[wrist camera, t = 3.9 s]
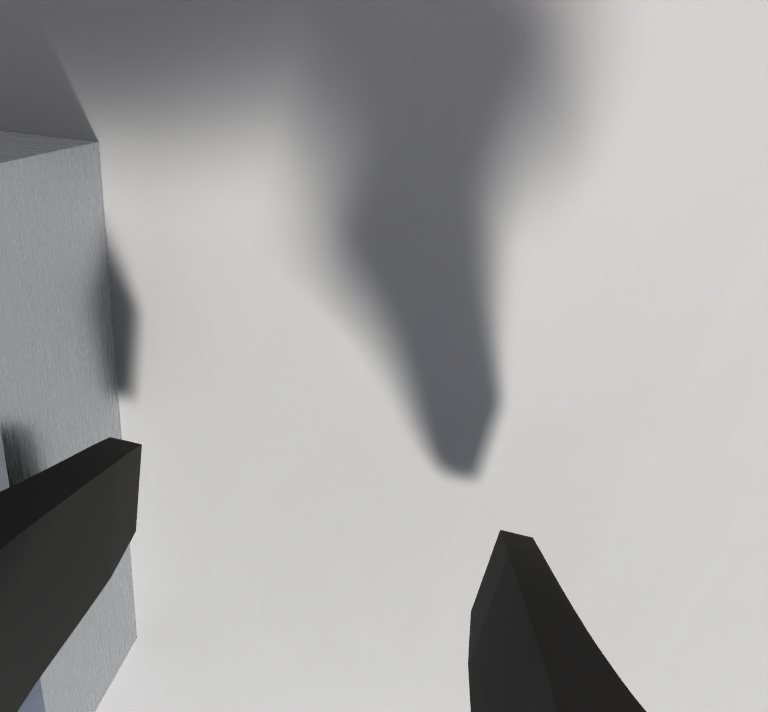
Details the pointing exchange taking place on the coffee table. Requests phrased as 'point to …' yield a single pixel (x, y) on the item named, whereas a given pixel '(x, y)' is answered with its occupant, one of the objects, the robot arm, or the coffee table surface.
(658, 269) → the coffee table surface
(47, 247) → the grey metal block
